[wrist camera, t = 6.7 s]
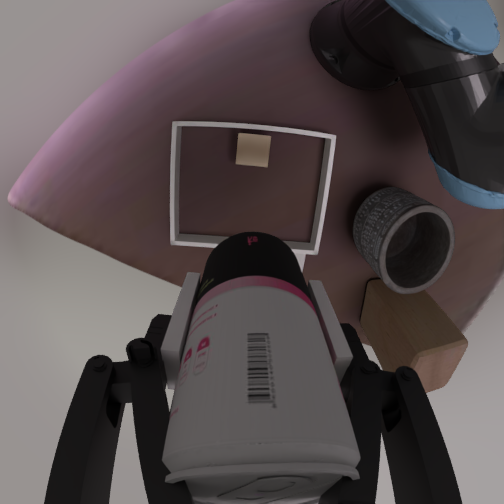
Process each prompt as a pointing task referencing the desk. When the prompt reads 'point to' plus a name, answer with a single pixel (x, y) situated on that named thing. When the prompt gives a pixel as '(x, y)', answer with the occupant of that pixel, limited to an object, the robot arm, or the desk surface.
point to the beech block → (253, 149)
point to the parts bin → (215, 240)
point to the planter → (404, 239)
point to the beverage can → (257, 386)
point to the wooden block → (412, 334)
